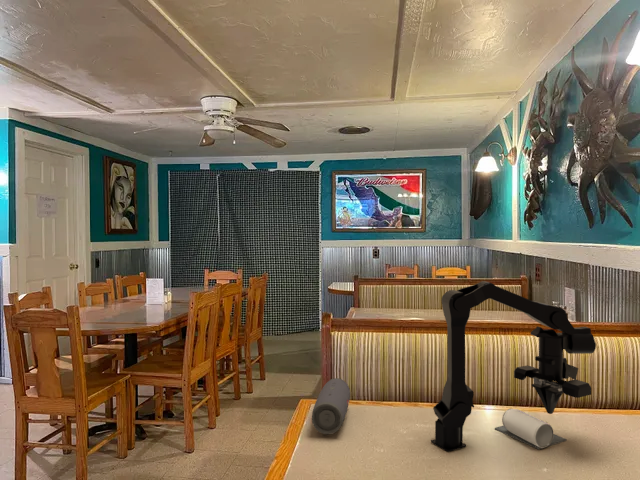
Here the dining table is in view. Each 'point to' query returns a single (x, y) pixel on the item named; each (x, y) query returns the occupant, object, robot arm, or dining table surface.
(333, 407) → the bluetooth speaker
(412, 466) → the dining table surface
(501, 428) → the mat
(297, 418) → the dining table surface
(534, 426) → the can
